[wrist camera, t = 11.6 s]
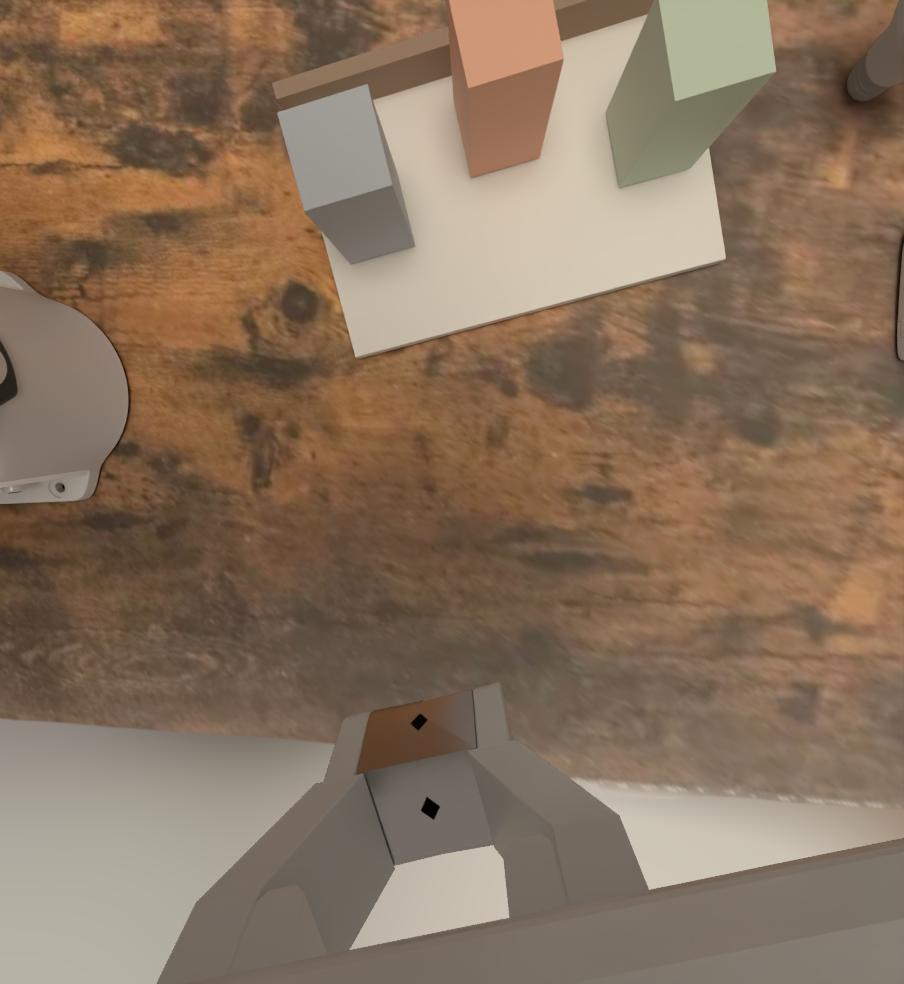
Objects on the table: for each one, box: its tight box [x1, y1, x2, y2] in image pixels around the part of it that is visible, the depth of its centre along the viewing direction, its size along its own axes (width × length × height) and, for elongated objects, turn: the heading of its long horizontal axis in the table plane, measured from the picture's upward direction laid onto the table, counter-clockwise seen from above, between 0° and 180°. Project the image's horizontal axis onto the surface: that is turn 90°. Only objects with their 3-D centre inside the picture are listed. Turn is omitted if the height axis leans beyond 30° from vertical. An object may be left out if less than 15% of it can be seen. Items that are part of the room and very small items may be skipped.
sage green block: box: [606, 0, 776, 188], centre depth 29 cm, size 5×5×10 cm
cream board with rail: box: [272, 0, 726, 359], centre depth 34 cm, size 28×19×4 cm
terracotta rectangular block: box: [446, 0, 564, 178], centre depth 30 cm, size 5×5×10 cm
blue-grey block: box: [277, 84, 415, 264], centre depth 31 cm, size 5×5×10 cm
